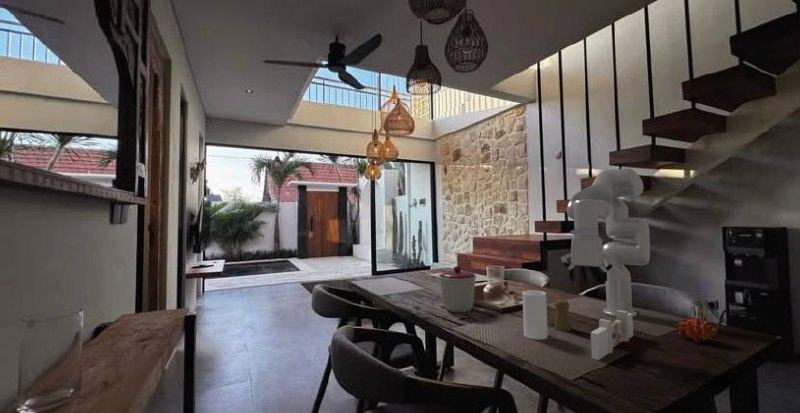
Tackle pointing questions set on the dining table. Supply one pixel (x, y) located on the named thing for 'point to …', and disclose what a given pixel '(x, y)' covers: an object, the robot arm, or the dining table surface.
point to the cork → (562, 315)
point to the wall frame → (609, 334)
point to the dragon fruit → (697, 329)
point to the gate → (617, 332)
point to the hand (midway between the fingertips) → (587, 281)
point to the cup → (535, 314)
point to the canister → (458, 289)
